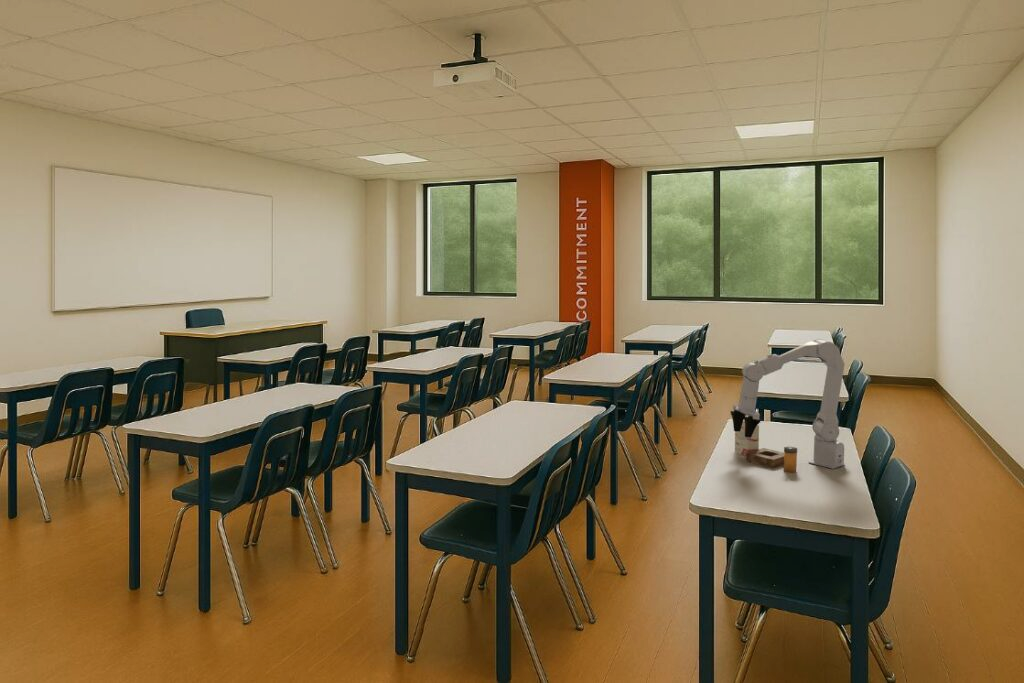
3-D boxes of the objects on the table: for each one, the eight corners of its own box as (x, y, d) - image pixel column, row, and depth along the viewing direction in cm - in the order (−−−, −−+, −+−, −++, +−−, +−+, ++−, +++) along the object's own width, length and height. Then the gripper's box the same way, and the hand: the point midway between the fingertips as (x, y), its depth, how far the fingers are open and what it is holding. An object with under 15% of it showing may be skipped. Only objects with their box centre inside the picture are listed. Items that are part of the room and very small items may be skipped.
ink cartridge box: (759, 456, 263) (760, 417, 262) (747, 457, 262) (748, 418, 260) (745, 450, 271) (746, 412, 270) (733, 451, 270) (734, 413, 268)
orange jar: (798, 471, 245) (799, 448, 244) (792, 473, 242) (792, 450, 241) (787, 468, 248) (788, 445, 247) (780, 470, 245) (781, 447, 244)
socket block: (790, 462, 255) (790, 454, 255) (773, 468, 248) (773, 459, 248) (763, 455, 264) (763, 447, 263) (745, 461, 257) (745, 453, 257)
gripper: (727, 391, 258) (722, 428, 260) (749, 400, 244) (742, 439, 246) (745, 393, 260) (739, 429, 262) (767, 402, 246) (761, 440, 248)
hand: (742, 434), depth 254 cm, fingers open, 7 cm apart
